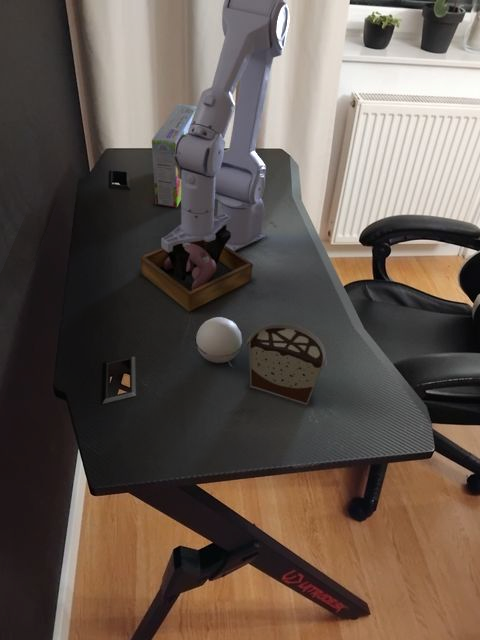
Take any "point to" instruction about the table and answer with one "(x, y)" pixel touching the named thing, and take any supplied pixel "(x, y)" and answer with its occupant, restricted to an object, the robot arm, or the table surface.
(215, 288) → the wooden frame
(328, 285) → the table surface
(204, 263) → the video game controller
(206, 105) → the robot arm
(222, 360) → the seamed sphere
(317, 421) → the table surface
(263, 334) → the brown and beige cupcake
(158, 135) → the snack box
